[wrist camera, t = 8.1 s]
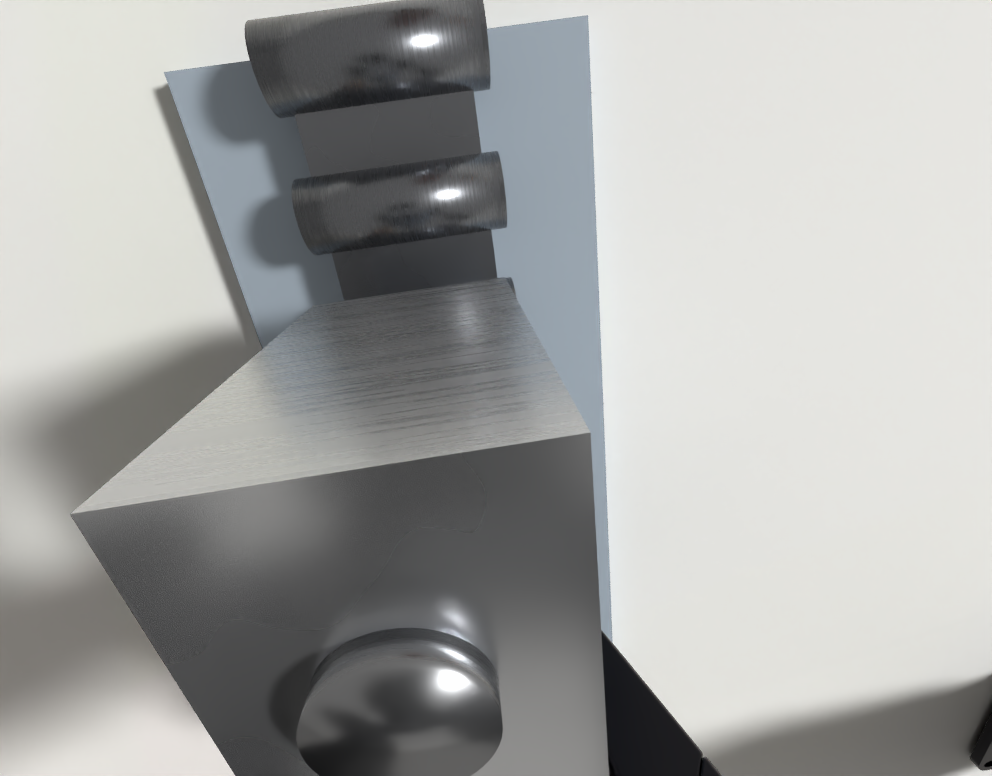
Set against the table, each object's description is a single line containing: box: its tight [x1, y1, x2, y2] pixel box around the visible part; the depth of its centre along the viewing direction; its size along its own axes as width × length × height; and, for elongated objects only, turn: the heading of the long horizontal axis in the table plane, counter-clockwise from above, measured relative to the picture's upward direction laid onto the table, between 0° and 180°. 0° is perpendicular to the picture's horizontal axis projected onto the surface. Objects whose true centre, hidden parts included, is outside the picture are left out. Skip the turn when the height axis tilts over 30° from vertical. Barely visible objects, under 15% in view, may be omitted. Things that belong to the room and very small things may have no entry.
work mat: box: [164, 15, 612, 642], centre depth 13 cm, size 20×8×1 cm, turn 7°
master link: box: [70, 277, 609, 776], centre depth 7 cm, size 12×3×5 cm, turn 7°
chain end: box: [245, 0, 516, 301], centre depth 10 cm, size 9×4×2 cm, turn 7°
